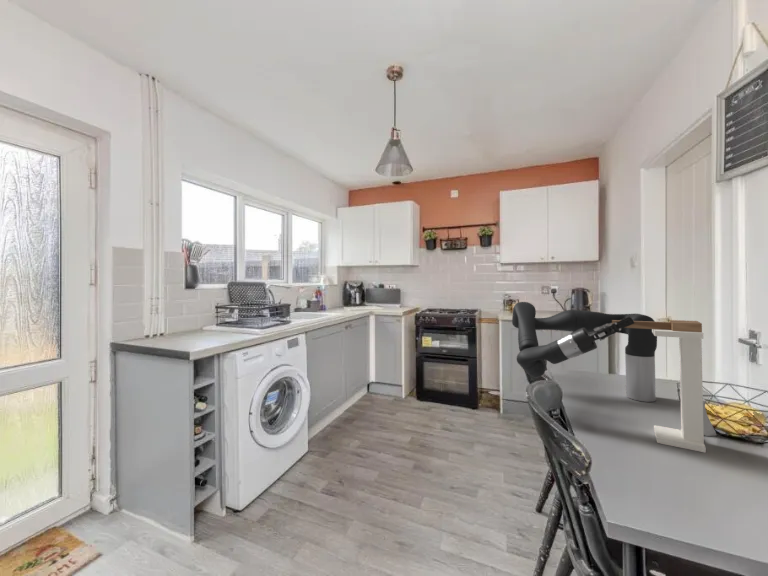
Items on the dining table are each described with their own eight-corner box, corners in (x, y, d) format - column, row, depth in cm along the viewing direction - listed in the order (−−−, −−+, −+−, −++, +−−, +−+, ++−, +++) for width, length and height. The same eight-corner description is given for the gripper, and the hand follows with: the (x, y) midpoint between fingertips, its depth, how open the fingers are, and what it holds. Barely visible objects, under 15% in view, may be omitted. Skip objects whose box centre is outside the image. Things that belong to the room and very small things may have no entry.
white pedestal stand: (654, 429, 101) (651, 326, 101) (698, 438, 95) (696, 328, 95) (657, 442, 93) (654, 330, 93) (705, 452, 87) (703, 333, 87)
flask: (723, 437, 95) (722, 403, 95) (693, 436, 96) (693, 402, 96) (704, 427, 102) (703, 395, 102) (677, 425, 104) (676, 394, 104)
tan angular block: (612, 325, 106) (612, 318, 106) (697, 329, 94) (696, 320, 94) (611, 328, 100) (611, 320, 100) (701, 332, 88) (701, 323, 88)
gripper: (585, 350, 113) (639, 327, 104) (581, 357, 102) (641, 333, 93) (572, 330, 115) (624, 307, 106) (567, 336, 104) (624, 310, 95)
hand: (632, 319), depth 100 cm, fingers closed on tan angular block, 2 cm apart
